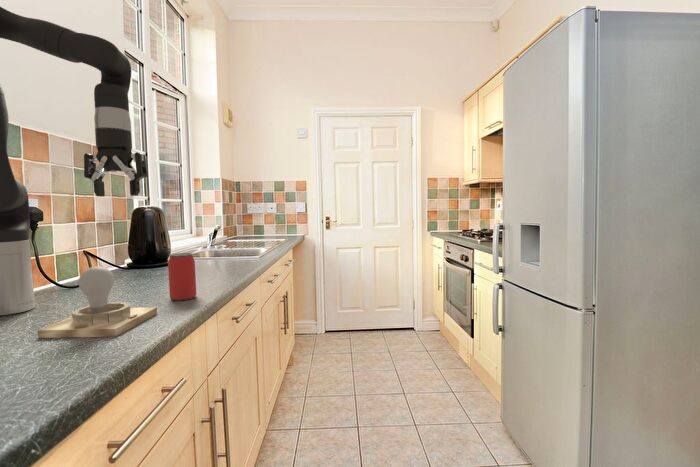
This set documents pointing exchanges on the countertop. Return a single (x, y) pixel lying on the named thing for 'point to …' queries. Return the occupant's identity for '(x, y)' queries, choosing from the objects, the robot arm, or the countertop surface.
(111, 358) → the countertop surface
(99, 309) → the lightbulb
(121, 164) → the robot arm
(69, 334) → the lamp holder
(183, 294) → the beer can
